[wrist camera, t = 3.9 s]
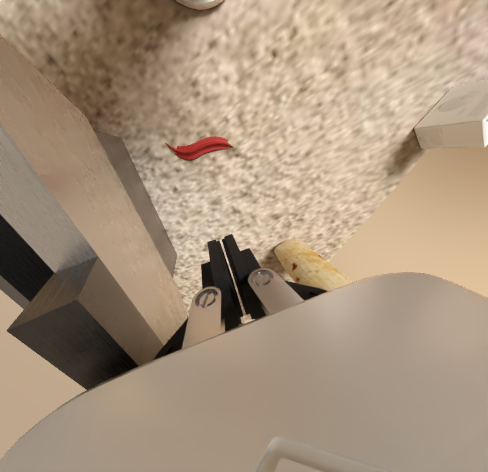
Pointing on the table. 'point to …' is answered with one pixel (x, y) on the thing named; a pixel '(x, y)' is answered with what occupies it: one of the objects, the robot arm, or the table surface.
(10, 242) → the grey lidded box
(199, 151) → the cayenne pepper
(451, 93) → the skincare box
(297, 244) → the food model
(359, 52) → the table surface
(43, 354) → the lid
